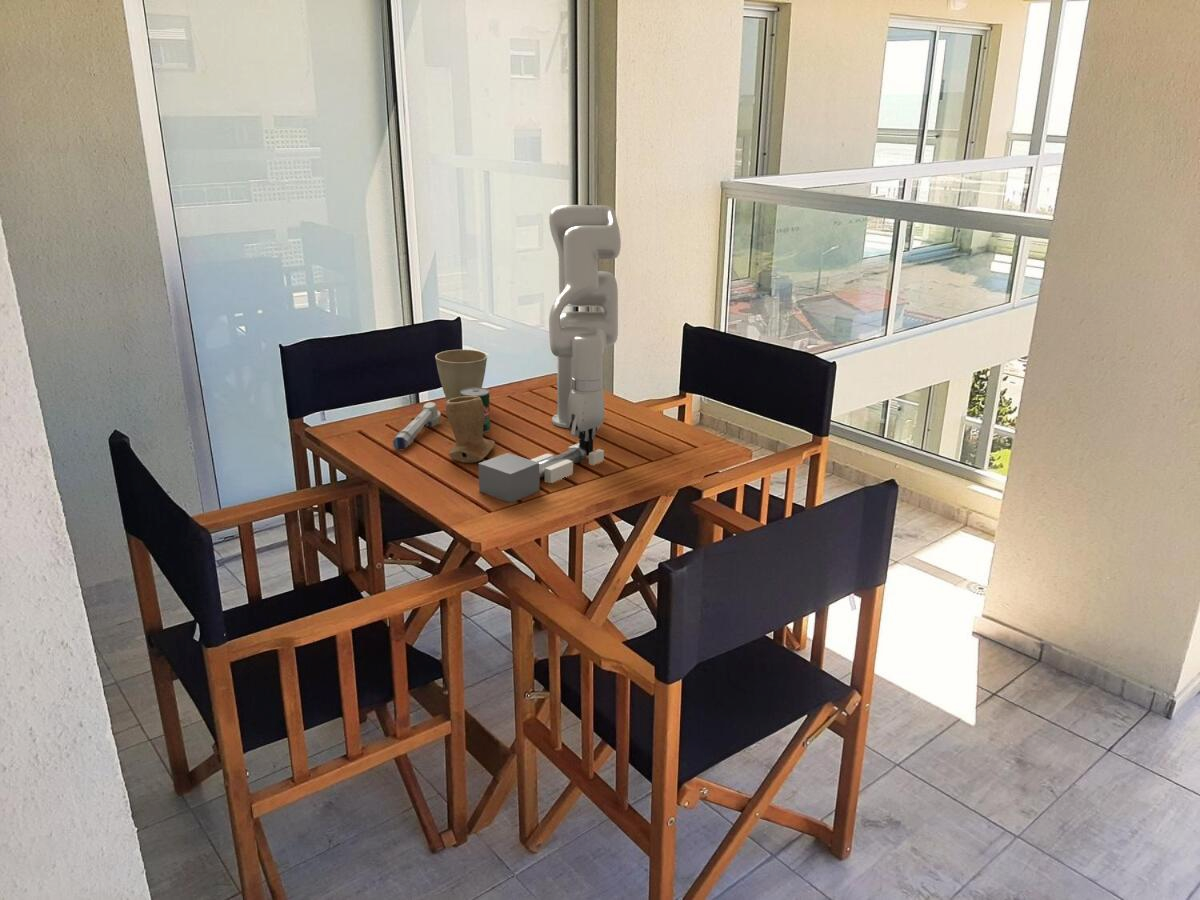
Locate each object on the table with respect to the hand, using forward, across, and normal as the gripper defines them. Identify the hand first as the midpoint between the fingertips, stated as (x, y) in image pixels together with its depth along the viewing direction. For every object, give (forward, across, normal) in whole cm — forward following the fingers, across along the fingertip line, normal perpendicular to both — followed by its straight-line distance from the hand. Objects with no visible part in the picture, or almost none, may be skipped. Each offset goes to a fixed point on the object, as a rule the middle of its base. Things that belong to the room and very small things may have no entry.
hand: (586, 453), depth 238 cm
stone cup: (+2, +17, -25) cm, 30 cm away
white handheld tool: (+2, +15, -47) cm, 49 cm away
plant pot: (+2, -10, -55) cm, 56 cm away
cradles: (+2, +8, 0) cm, 8 cm away
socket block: (+2, +27, 0) cm, 27 cm away
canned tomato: (+2, +2, -38) cm, 38 cm away
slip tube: (+1, +14, 0) cm, 14 cm away
